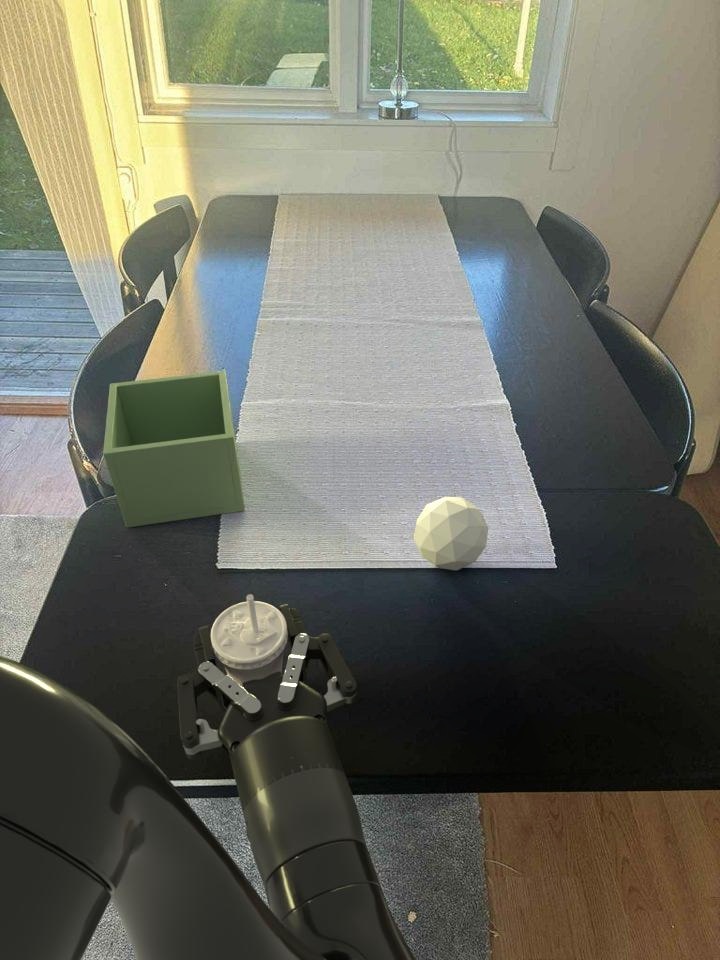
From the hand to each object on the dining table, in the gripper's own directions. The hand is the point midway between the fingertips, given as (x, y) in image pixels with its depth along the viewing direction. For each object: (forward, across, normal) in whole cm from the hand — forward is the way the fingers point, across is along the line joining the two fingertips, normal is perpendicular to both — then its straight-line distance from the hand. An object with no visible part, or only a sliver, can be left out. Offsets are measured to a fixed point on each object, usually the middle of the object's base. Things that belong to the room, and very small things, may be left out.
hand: (244, 621), depth 61 cm
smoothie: (-2, 0, +8) cm, 9 cm away
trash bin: (+30, +2, +8) cm, 31 cm away
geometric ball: (+7, -24, +8) cm, 26 cm away
